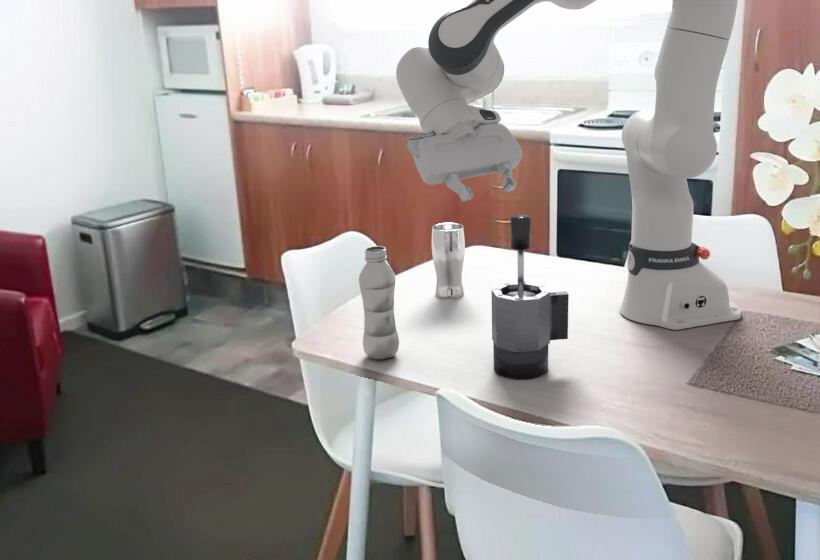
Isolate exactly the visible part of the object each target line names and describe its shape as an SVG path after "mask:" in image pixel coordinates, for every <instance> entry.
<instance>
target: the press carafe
mask: <svg viewBox="0 0 820 560" xmlns="http://www.w3.org/2000/svg"><path fill="white" fill-rule="evenodd" d="M513 291H518V281H514V282H502V283H501V284H499V285H497V286H495V287H493V288H491V339H492V342H493V343H492V344H493V345H492V346H493V348H492V349H493V371H494V373H496V375H499V376H500V377H503V378H506V379H510V380H515V381H516V380H517V381H520V380H521V381H527V380H534V379H537V378H541V377H543V376H544V375H546V374H547V373H548V371H549V345H550V343H551V341H557V340H568V337H569V293H568V291H555V292H554V291H553V292H551V291H550V290H549V289H548V287H547V286H546V285H545V284H540V283H535V282H531V281H526V280H524V291H528V292H532V293H534V294H535V295H536V296H534V297H522V298H515V297H511V296H506V294H507V293H509V292H513Z"/></svg>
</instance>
